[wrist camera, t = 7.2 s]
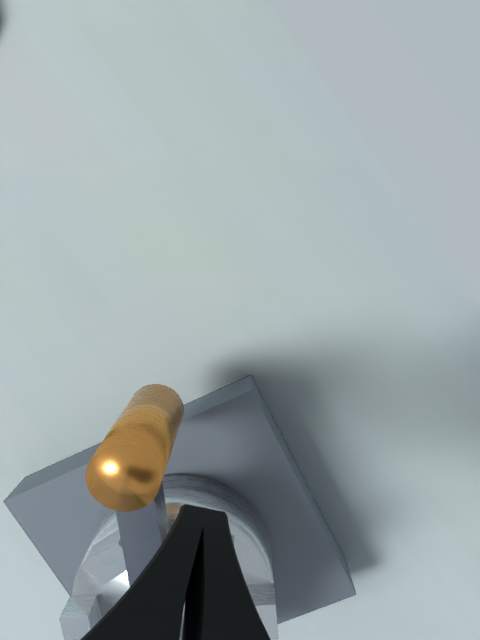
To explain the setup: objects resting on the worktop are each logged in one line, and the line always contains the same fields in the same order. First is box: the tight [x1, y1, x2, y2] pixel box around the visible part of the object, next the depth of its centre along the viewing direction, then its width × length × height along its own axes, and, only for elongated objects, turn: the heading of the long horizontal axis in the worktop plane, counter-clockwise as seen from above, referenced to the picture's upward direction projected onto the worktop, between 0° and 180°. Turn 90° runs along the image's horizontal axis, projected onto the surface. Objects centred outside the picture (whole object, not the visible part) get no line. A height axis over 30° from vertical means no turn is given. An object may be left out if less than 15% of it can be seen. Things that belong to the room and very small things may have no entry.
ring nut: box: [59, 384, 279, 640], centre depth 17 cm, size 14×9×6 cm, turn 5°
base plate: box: [3, 375, 356, 624], centre depth 21 cm, size 13×14×2 cm
